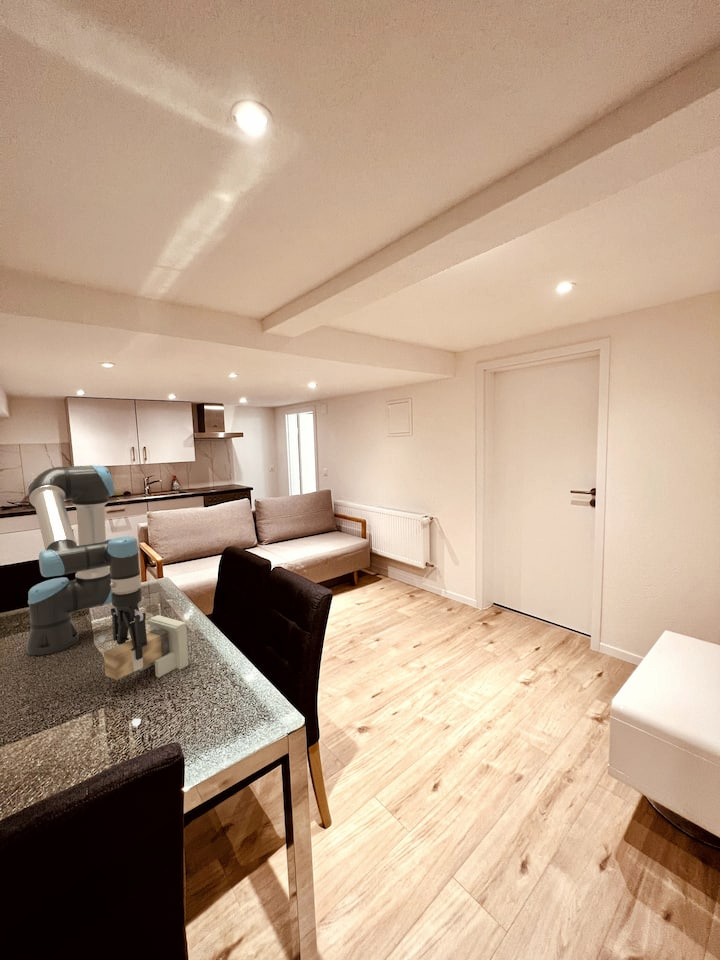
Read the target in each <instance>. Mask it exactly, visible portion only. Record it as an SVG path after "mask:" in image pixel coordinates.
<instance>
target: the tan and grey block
mask: <svg viewBox="0 0 720 960" xmlns="http://www.w3.org/2000/svg"><path fill="white" fill-rule="evenodd" d="M146 635H147V645H146V646H144V647H142V652H143V654H142V655H143V667H144V666H146V665H148V664H150V663H152V662H154V661H155V660H157V659H159V658H161V657H163V656H165V655H167V654H168V643H167V632H164V631H160V630H157V629H154V630H152V631H150V630H149V632H146ZM127 641H128V642H127ZM127 641H126V643H123V644H121V645H119V644H118V645H116V646H114V647H112V648H110V649H107V650H104V651H103V659H104V671H105V672H104V674H105V676H107V677H108V678H111V679H113V680H116V681H117V680H120V679H122V678H124V677H126V676H127V675H129V674H132V673H133V672H134V671H133V666H132V652H131V649H132V648H133V645H132V641H131V639H129V640H127Z"/></svg>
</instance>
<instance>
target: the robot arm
mask: <svg viewBox="0 0 720 960" xmlns="http://www.w3.org/2000/svg"><path fill="white" fill-rule="evenodd" d="M114 494H115V486H114V481H113V478H112V475H111V472H110V470H109V469H108V467H107V466H104V465H77V466H55V467H52V468H49V469H46V470H44V471H43V472H41V473H39V474H38V475H37V476H36V477H35V478H34V479H33V481H32V482H31V484H30V486H29V488H28V500H29V503H30V504H31V506H33V507H34V509H35V512H36V516H37V520H38V523H39V529H40V533H41V537H42V541H43V545H44V550H43V551H40V552H39V554H38V564H39V572H40V574H41V576H42V577H44V578H51V577H56V578H52V579H47V580H45V581H44V580H43V581H42V582H40V583H37V584H35V585H34V586H32V587H31V588H30V589H29V591H28V592H27V594H28V595H27V596H28V597H27V598H28V600H27V604H28V607H29V608H28V609H29V619H30V620H29V621H30V631H29V634H28V637H27V641H26V643H25V644H26V645H25V653H26V654H27V655H29V656H34V655H37V656H45V655H46V656H47V655H51V654H55V653H58V652H61V651H64V650H66V649H68V648H71V647H73V646H74V645H75V644H77V643H78V641H79V640H80V637H79V636H80V635H79V632H78V629H77V628H76V626H75V624H74V622H73V621H72V613H76V612H80V611H84V610H88V609H92V608H97V607H102V606H104V605H108V604H111V606H112V607H113V608H110V615H111V620H112V621H111V622H112V623H111V625H112V639H113V641H114V642H116V643H117V645H118V646H119V645H121V644H123V643H126V642H128V641H130V640H131V641H132V645H133V648H132V649H131V652H132V666H133V671H134V672H136V671H140V670H139V669H141V668H143V655H142V654H143V652H142V647H144V646H146V645H147V635H146V634H147V626H146V625H147V624H146V617H147V614H146V612H140V609H139V606H138V605H139V603H140V602H142V589H141V586H142V585H141V573H140V557H139V555H140V553H139V550H140V548H139V545H138V539H137V537H135V536H120V537H115V538H109V539H107V538H106V535H107V534H106V518H105V517H106V513H105V512H106V511H105V506H107V504H108V503H109V502H110V498H109V497H112V496H114ZM65 500H70V503H71V505H72V506H74V507H75V508H76V521H77V538H78V544H77V540H76V537H75V533H74V531H73V528H72V524H71V520H70V518H69V513H68V511H67V508H66V506H65ZM73 573H75V577H74V578H75V579H73V580H69V579H68V577H63V576H64V575H68V574H73ZM58 576H60V577H58ZM61 576H62V577H61ZM128 635H129V637H128ZM44 654H45V655H44Z"/></svg>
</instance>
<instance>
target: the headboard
mask: <svg viewBox="0 0 720 960" xmlns="http://www.w3.org/2000/svg"><path fill="white" fill-rule="evenodd" d="M147 625H149V629H150V630H149V631H152V630H154V629H157V630H160V631H164V632H167V643H168V654H167V655H165V656H163V657H161V658H159V659H157V660H155V661H154V662H152V663H150V664H148V665H146V666H144V667H143V668H141V669H139V670H138V671H141V672H143V671H144V670H147V669H148V668H151V667H152V666H154V673H155V677H156V678H160V677H162V676H165V675H166V674H168V673H170V672H172V671H173V670H174V671H175V669H177V670H183V669H185V668H186V667H188V666H189V653H188V652H189V651H188V633H187V623H186V622H185V621H182V620H181V621H180V620H179V619H173V618H170V617H168V616H163V615H160V614H157V615H155V616H152V617H150V618H149V619H148V620H147Z"/></svg>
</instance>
